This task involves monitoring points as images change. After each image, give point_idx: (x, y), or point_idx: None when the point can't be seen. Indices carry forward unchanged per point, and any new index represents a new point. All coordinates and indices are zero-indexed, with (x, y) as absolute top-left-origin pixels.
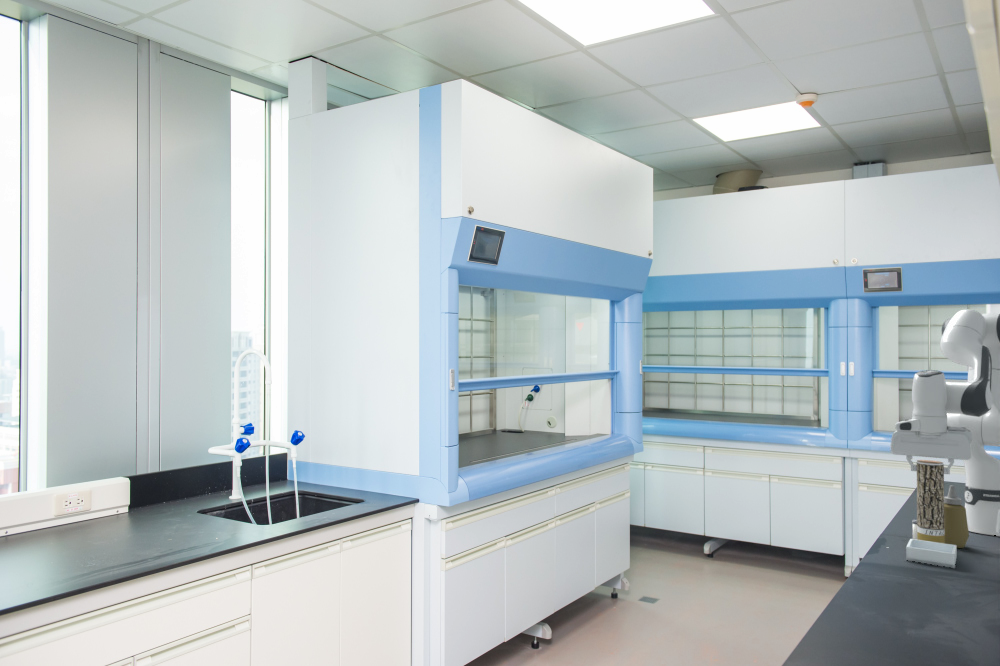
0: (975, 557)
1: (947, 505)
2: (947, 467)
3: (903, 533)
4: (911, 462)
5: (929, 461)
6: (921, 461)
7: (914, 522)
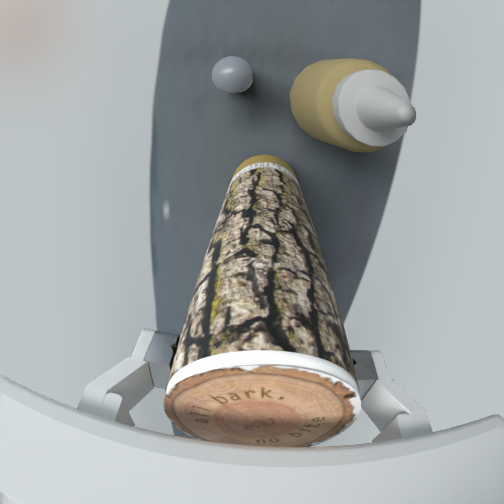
0: (357, 203)
1: (342, 132)
2: (363, 407)
3: (200, 15)
4: (138, 400)
5: (259, 416)
6: (201, 429)
7: (220, 88)
